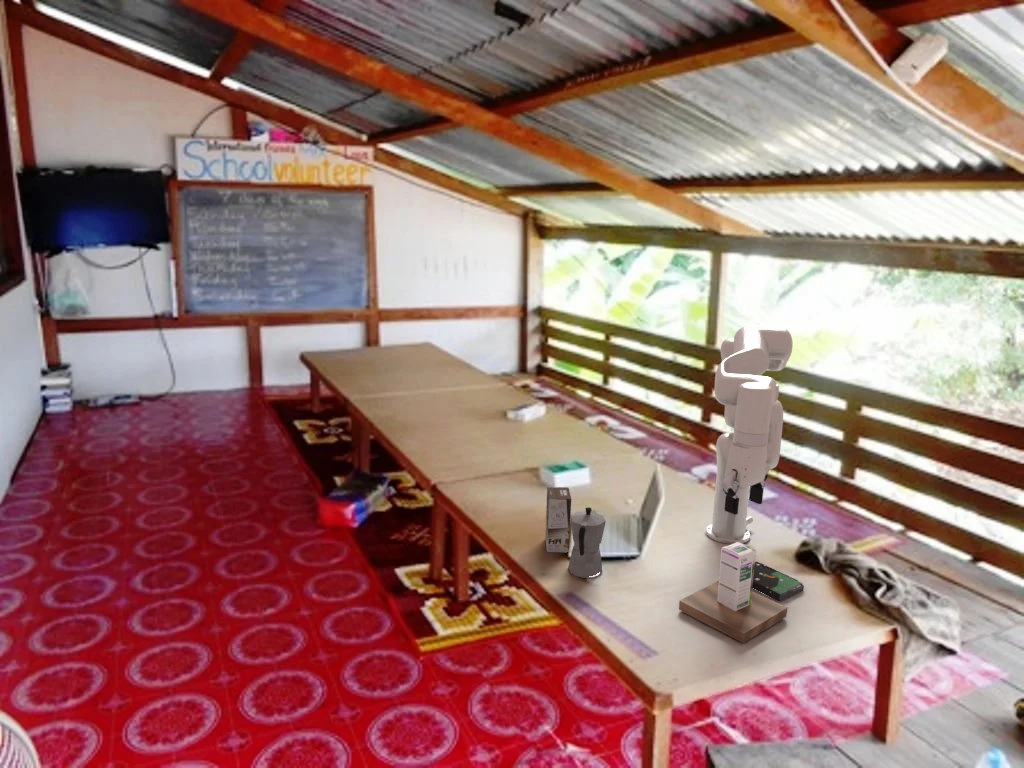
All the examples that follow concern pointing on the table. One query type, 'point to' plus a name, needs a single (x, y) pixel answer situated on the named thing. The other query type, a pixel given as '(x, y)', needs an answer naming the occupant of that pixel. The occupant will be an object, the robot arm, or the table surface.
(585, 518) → the coffeepot
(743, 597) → the syrup box
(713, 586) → the walnut stand
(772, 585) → the disk drive
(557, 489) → the coffee box
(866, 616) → the table surface
